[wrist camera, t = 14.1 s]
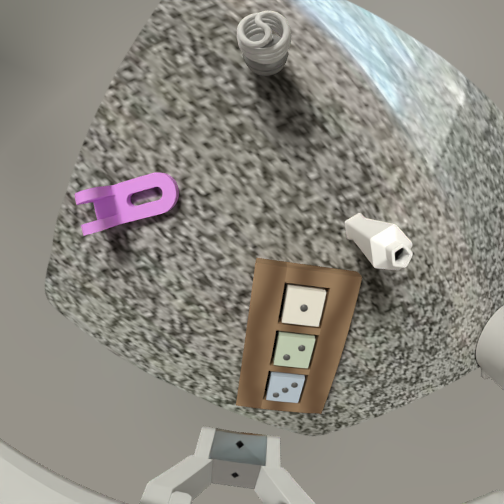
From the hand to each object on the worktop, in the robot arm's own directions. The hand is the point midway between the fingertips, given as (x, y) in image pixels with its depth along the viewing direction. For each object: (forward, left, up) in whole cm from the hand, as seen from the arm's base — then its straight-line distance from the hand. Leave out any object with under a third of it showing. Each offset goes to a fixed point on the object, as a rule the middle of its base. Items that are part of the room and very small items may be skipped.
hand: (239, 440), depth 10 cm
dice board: (-6, +13, -31) cm, 34 cm away
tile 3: (-6, +20, -31) cm, 37 cm away
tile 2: (-6, +13, -31) cm, 34 cm away
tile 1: (-6, +6, -31) cm, 32 cm away
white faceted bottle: (-12, -5, -31) cm, 34 cm away
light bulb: (+3, -25, -31) cm, 40 cm away
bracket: (+19, -5, -32) cm, 37 cm away
